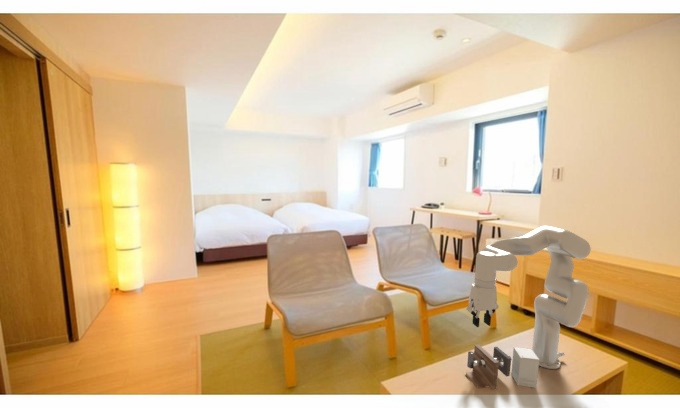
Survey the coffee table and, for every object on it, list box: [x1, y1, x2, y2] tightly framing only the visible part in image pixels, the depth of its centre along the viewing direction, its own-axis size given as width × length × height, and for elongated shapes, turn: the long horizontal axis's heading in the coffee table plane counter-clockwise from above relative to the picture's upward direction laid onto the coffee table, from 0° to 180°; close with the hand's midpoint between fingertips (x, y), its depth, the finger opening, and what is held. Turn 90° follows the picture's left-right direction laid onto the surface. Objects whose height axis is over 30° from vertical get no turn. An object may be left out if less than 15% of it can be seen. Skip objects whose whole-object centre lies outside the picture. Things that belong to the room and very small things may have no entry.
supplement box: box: [510, 346, 540, 389], centre depth 123 cm, size 7×7×13 cm
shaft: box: [466, 350, 513, 369], centre depth 123 cm, size 20×2×6 cm, turn 102°
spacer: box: [492, 346, 512, 377], centre depth 125 cm, size 2×8×8 cm, turn 13°
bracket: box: [465, 344, 499, 391], centre depth 123 cm, size 7×12×12 cm, turn 12°
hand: (481, 324), depth 120 cm, fingers open, 4 cm apart
